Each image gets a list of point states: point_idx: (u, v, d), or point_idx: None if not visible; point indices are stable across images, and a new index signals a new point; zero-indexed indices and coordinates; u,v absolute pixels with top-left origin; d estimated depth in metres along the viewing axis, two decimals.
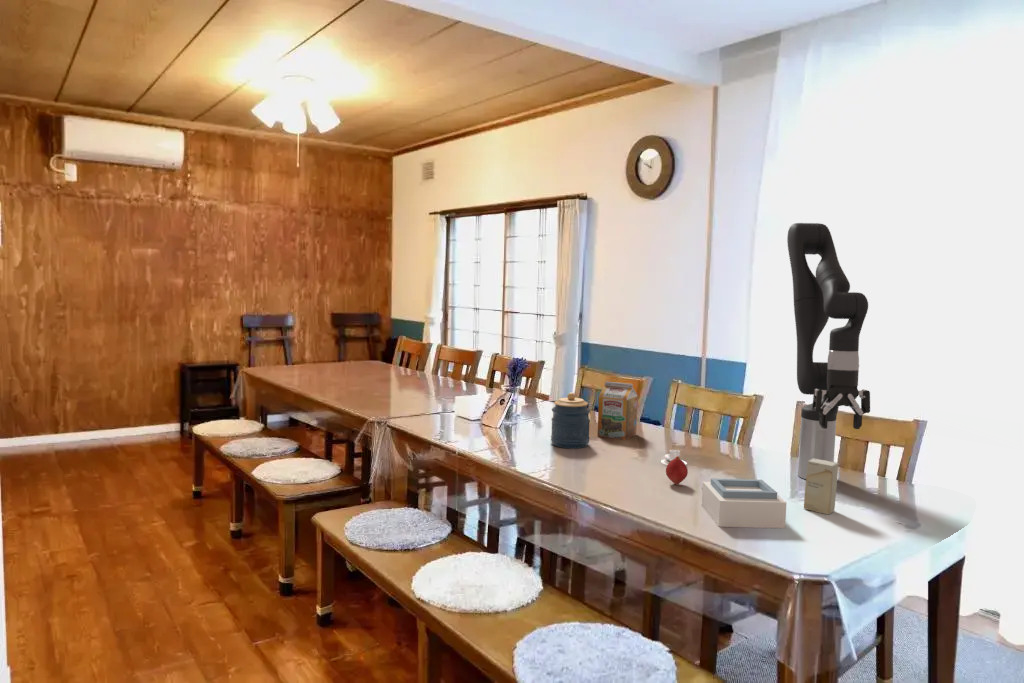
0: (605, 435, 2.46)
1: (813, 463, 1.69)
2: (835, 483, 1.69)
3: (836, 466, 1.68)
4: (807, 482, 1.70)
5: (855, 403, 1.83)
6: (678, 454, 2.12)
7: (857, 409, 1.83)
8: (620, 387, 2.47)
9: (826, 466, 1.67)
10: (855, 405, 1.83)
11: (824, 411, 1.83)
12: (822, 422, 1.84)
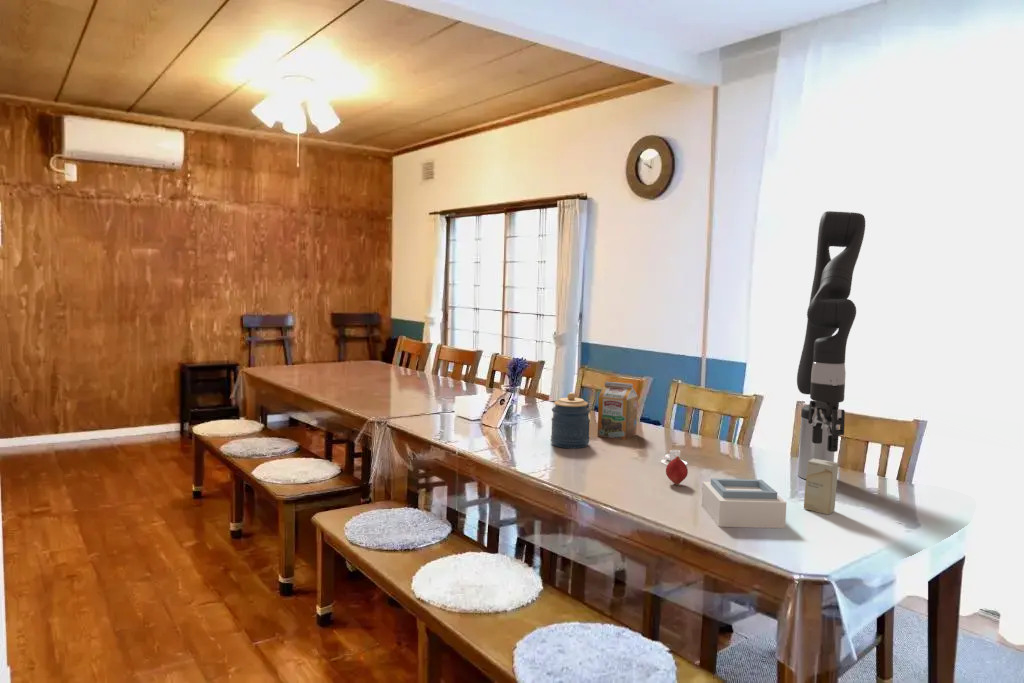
0: (605, 435, 2.46)
1: (813, 463, 1.69)
2: (835, 483, 1.69)
3: (836, 466, 1.68)
4: (807, 482, 1.70)
5: None
6: (678, 454, 2.12)
7: None
8: (620, 387, 2.47)
9: (826, 466, 1.67)
10: None
11: None
12: None
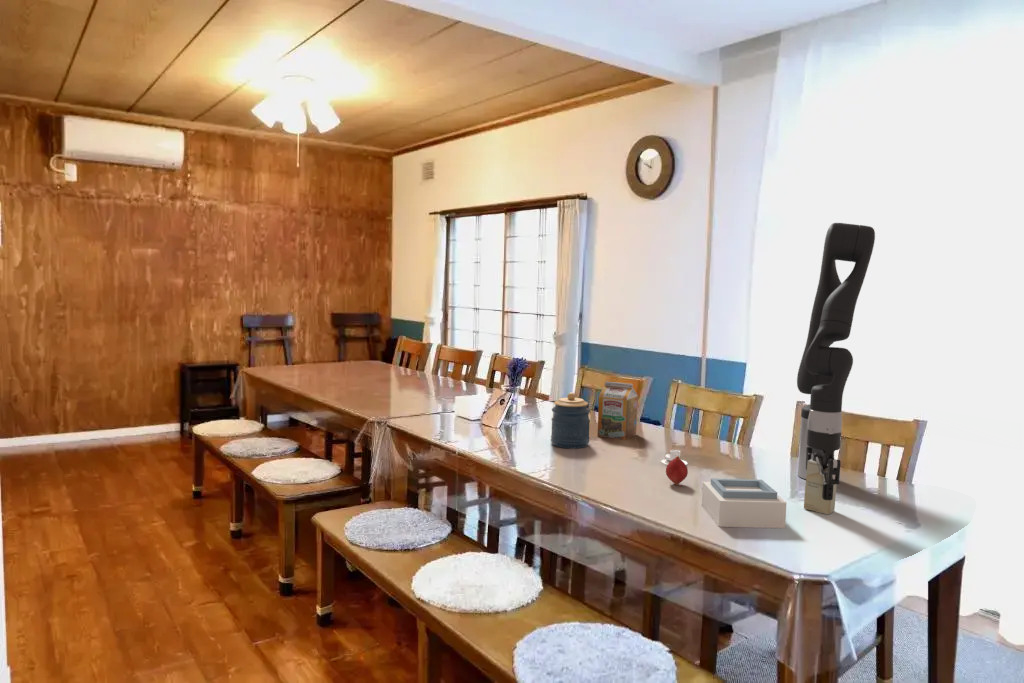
0: (605, 435, 2.46)
1: (813, 463, 1.69)
2: None
3: None
4: (807, 482, 1.70)
5: None
6: (679, 454, 2.12)
7: None
8: (620, 387, 2.47)
9: None
10: None
11: None
12: None
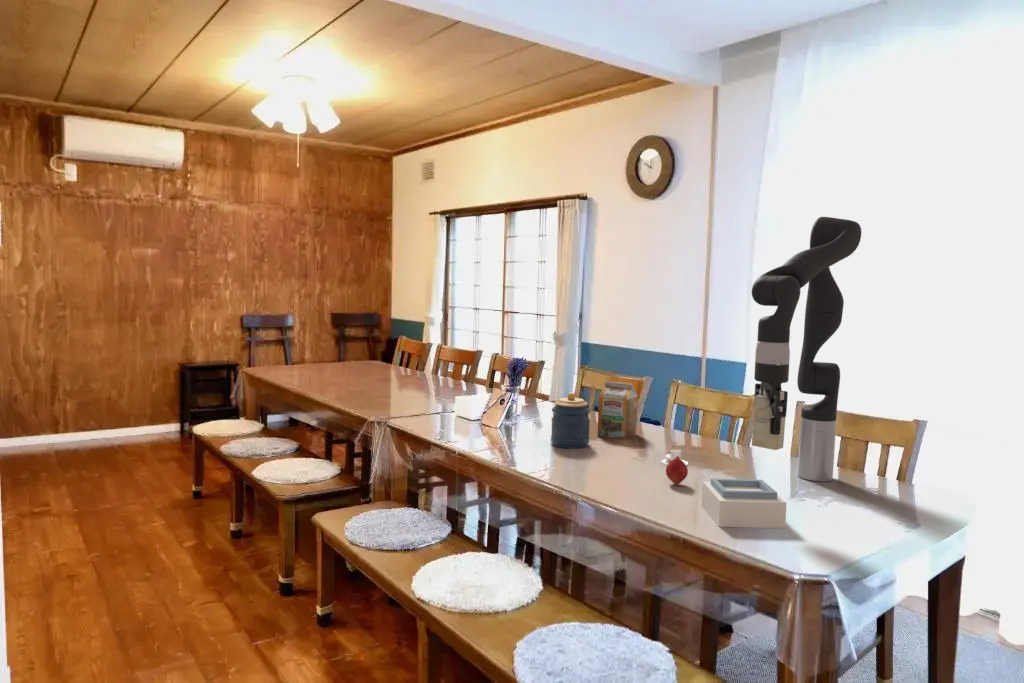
0: (605, 435, 2.46)
1: (761, 397, 1.62)
2: (783, 418, 1.62)
3: None
4: (755, 418, 1.64)
5: None
6: (679, 454, 2.12)
7: None
8: (620, 387, 2.47)
9: None
10: None
11: None
12: None
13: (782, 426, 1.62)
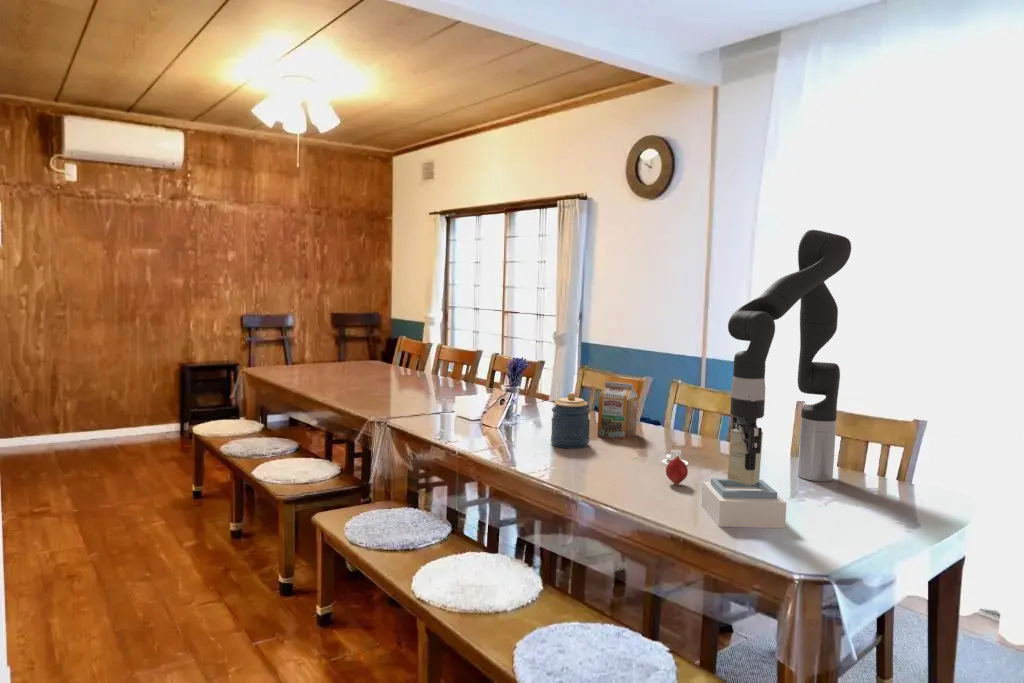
0: (605, 435, 2.46)
1: (736, 432, 1.63)
2: (759, 453, 1.62)
3: None
4: (731, 452, 1.64)
5: None
6: (679, 454, 2.12)
7: None
8: (620, 387, 2.47)
9: None
10: None
11: None
12: None
13: (758, 461, 1.62)
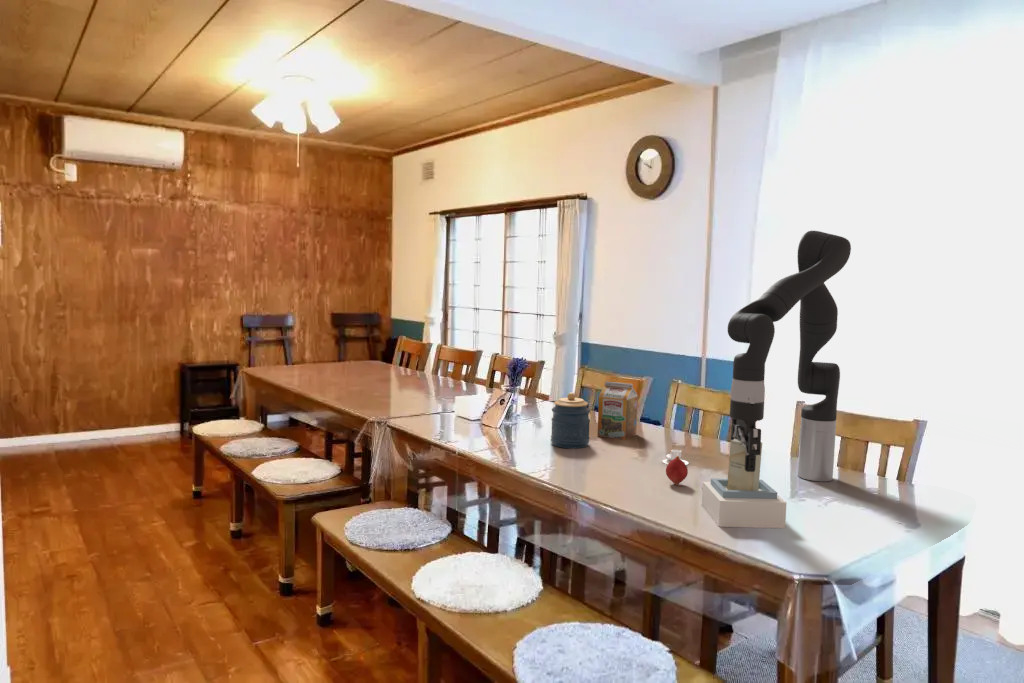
0: (605, 435, 2.46)
1: (736, 442, 1.63)
2: (758, 463, 1.63)
3: None
4: (730, 462, 1.64)
5: None
6: (680, 454, 2.12)
7: None
8: (620, 387, 2.47)
9: None
10: None
11: None
12: None
13: (757, 471, 1.62)
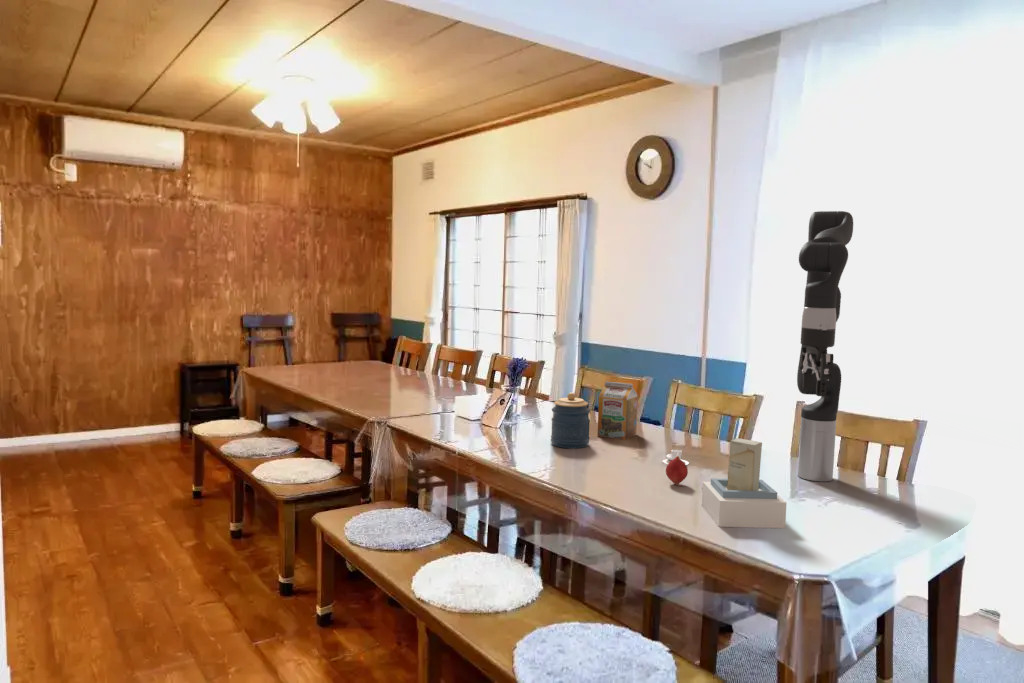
0: (605, 435, 2.46)
1: (736, 442, 1.63)
2: (758, 463, 1.63)
3: (759, 445, 1.62)
4: (730, 462, 1.64)
5: None
6: (680, 454, 2.12)
7: None
8: (620, 387, 2.47)
9: (748, 445, 1.61)
10: None
11: None
12: None
13: (757, 471, 1.62)
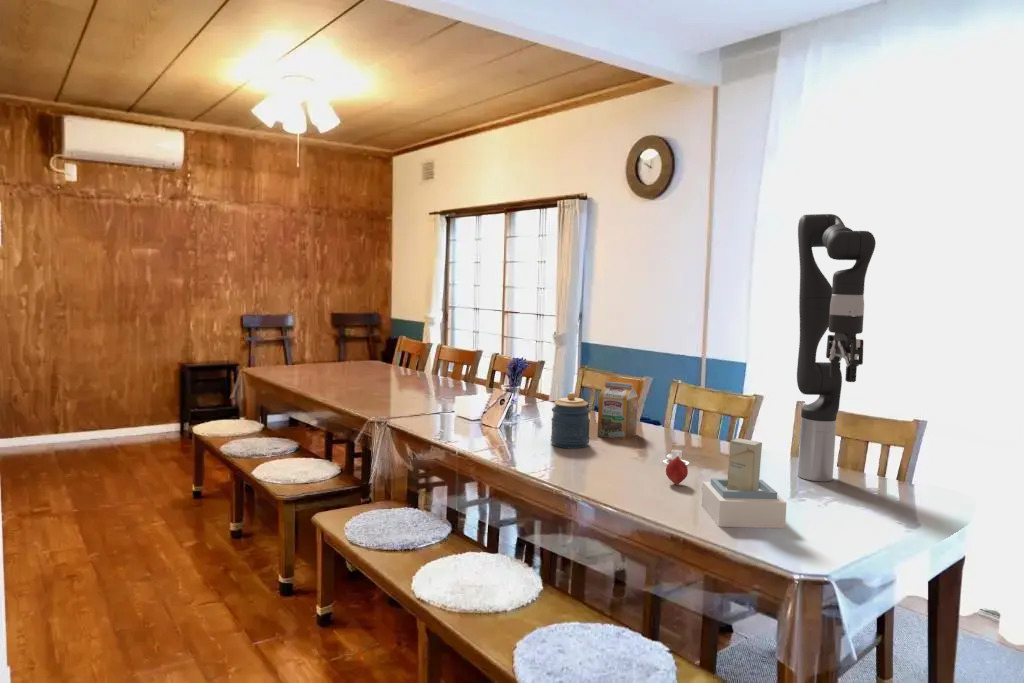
0: (605, 435, 2.46)
1: (736, 442, 1.63)
2: (758, 463, 1.63)
3: (759, 445, 1.62)
4: (730, 462, 1.64)
5: None
6: (680, 454, 2.12)
7: None
8: (620, 387, 2.47)
9: (748, 445, 1.61)
10: None
11: None
12: None
13: (757, 471, 1.62)
